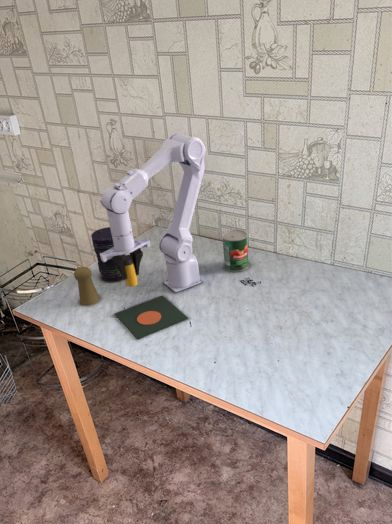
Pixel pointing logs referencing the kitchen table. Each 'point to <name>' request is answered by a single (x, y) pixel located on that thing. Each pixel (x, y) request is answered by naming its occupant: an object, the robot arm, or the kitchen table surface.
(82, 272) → the olive pawn
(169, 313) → the mat
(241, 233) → the canned tomato
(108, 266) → the storage jar
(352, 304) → the kitchen table surface
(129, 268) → the glue stick
